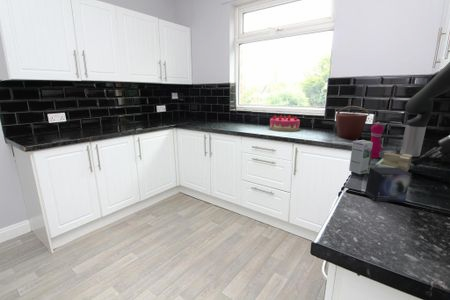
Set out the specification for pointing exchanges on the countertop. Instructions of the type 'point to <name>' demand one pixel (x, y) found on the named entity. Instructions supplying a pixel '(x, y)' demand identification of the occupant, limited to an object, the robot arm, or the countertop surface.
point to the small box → (387, 184)
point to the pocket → (381, 164)
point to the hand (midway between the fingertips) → (413, 163)
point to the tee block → (397, 161)
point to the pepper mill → (376, 139)
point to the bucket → (350, 123)
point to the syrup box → (360, 156)
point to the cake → (284, 123)
